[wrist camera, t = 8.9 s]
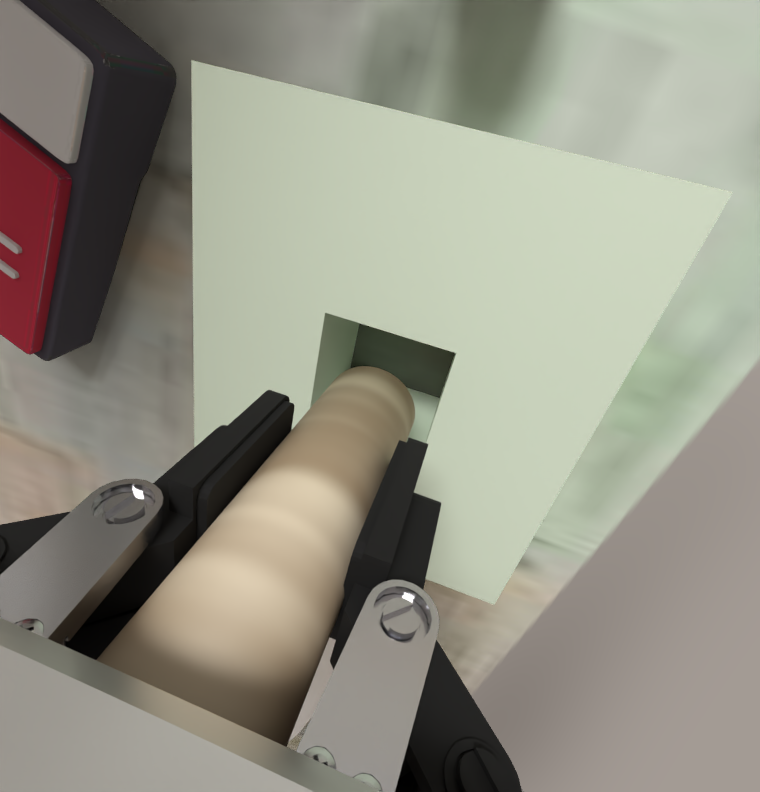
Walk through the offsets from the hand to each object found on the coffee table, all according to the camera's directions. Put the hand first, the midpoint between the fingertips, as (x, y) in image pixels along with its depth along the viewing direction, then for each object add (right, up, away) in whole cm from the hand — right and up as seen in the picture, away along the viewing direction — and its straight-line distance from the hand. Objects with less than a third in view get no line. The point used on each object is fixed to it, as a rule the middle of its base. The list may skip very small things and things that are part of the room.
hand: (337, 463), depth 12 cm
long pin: (+1, +1, +3) cm, 3 cm away
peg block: (+2, +4, +8) cm, 9 cm away
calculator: (-15, +13, +9) cm, 22 cm away
